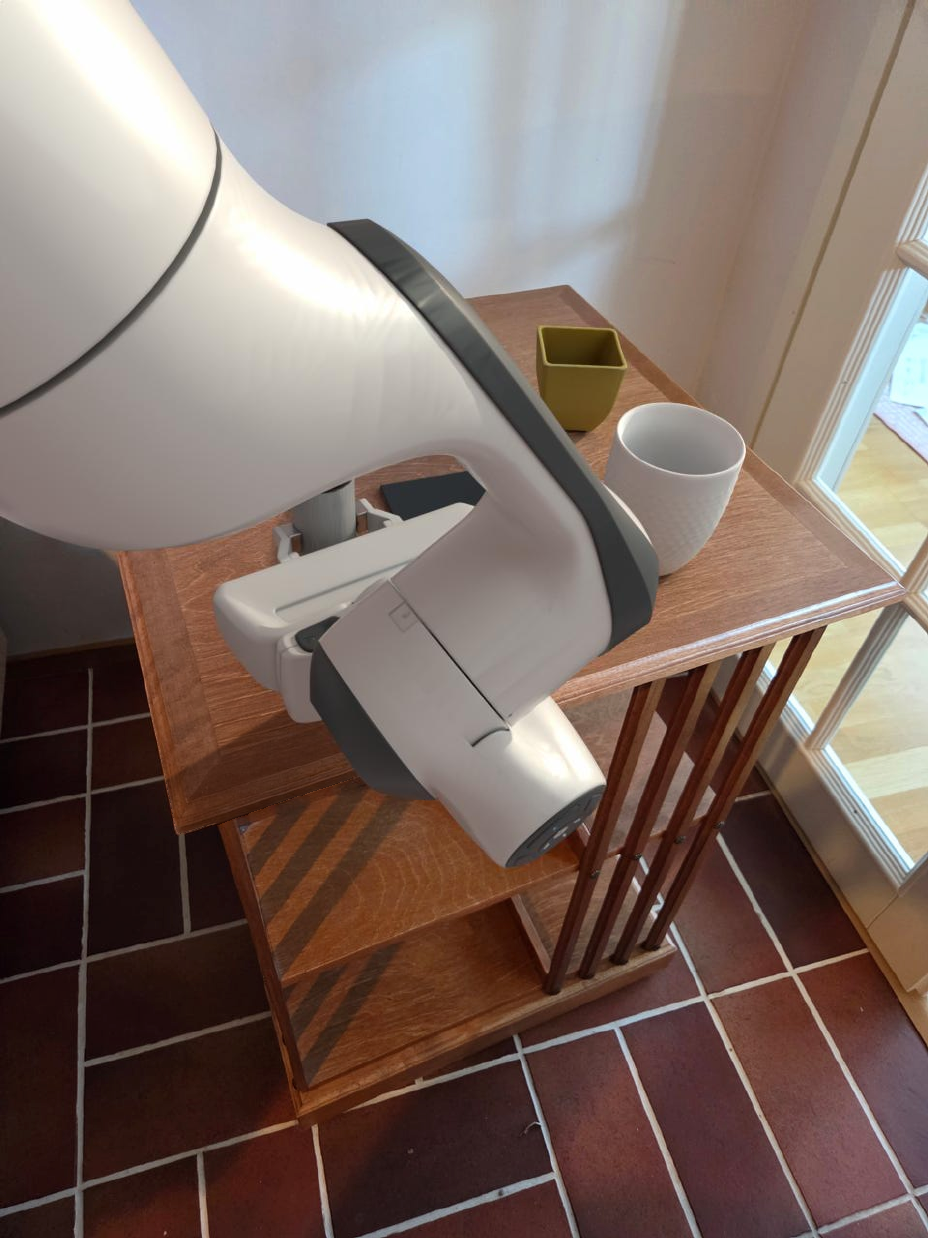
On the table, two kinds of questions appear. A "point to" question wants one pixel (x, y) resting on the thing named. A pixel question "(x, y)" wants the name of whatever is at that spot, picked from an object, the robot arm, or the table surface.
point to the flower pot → (579, 373)
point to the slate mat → (431, 494)
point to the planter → (326, 518)
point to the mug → (674, 475)
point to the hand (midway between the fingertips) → (318, 519)
